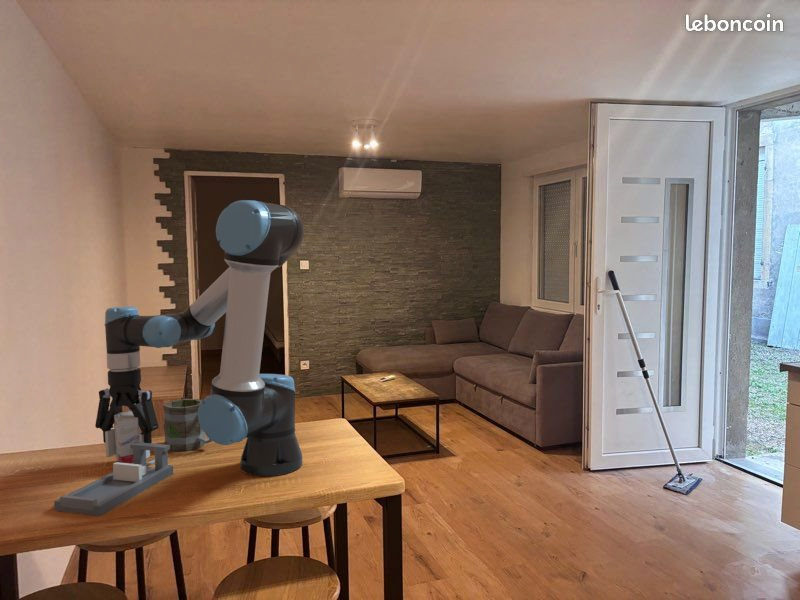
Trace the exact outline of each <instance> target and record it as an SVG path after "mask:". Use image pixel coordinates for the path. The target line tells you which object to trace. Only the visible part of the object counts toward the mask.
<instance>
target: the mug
mask: <svg viewBox="0 0 800 600" xmlns="http://www.w3.org/2000/svg"><path fill="white" fill-rule="evenodd" d="M202 401H203V400H202V399H198V398H181V399H175V400H170V401H168V402H166V403H164V404H162V405H163V407H162V408H163V413H164V415H163V416H164V417H163V419H164V420H163V432H164V445H170V449H169V450H167V452H171V453H172V452H173V453H186V452H190V451H195V450H199V449H201V448H203V447H204V446H205V445H206V444H211V443H212V442H213V441H212V440H211V439H209V438H207V437H205V435H206V434H205V432H204V431H203V430H202V428H201V426H200V424H199V420H198V408H199V405H200V403H201V402H202Z"/></svg>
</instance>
